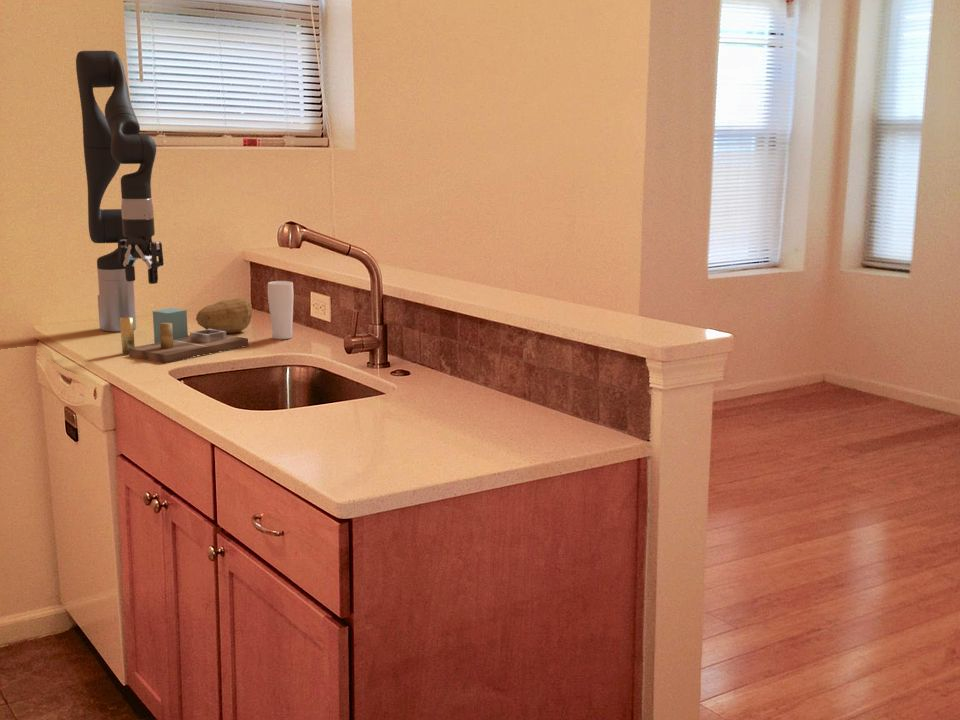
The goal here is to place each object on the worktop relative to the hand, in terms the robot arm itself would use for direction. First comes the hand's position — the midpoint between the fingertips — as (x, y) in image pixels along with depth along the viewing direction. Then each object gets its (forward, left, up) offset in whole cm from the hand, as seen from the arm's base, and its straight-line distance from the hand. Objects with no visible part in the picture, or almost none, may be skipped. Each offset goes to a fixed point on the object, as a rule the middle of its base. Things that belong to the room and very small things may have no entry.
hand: (142, 282), depth 269 cm
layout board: (+10, +6, -17) cm, 21 cm away
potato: (-2, +28, -18) cm, 33 cm away
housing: (-1, +9, -17) cm, 20 cm away
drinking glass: (+16, +32, -18) cm, 40 cm away
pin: (0, -5, -17) cm, 18 cm away
